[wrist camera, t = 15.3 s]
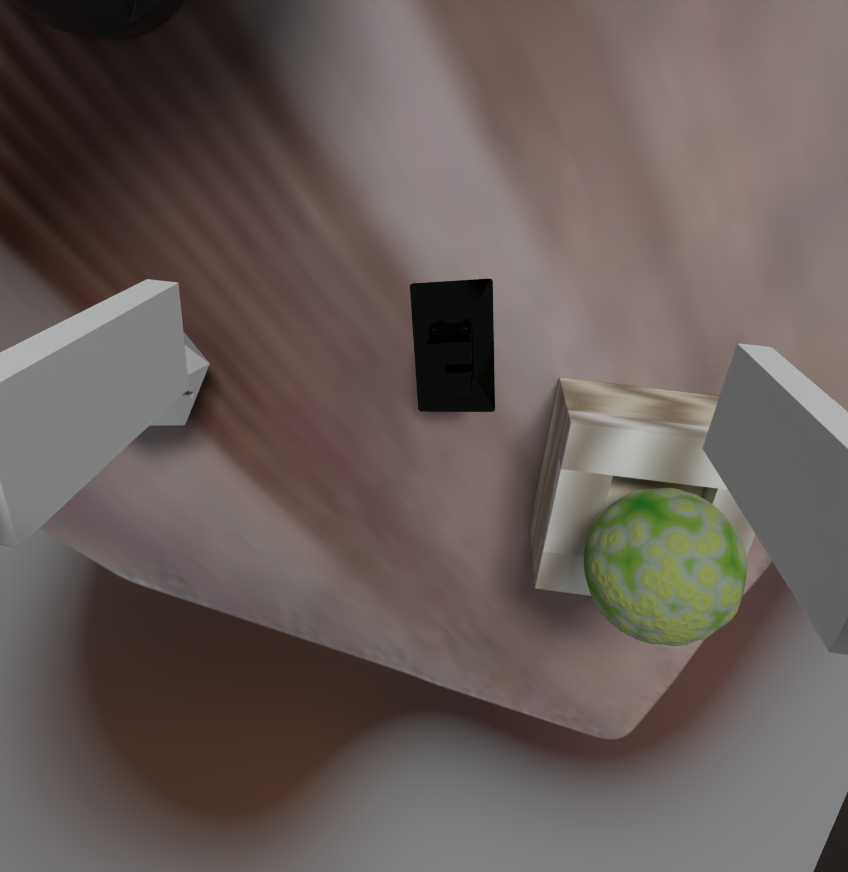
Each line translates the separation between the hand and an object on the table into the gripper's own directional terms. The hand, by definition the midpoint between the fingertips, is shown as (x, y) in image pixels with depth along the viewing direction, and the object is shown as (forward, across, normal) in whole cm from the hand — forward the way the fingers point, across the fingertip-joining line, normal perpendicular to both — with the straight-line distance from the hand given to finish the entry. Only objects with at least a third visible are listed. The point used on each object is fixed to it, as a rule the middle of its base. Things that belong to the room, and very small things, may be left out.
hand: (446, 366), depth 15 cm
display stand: (+31, +15, -19) cm, 40 cm away
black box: (+32, 0, -11) cm, 34 cm away
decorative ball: (+24, +15, -19) cm, 34 cm away
